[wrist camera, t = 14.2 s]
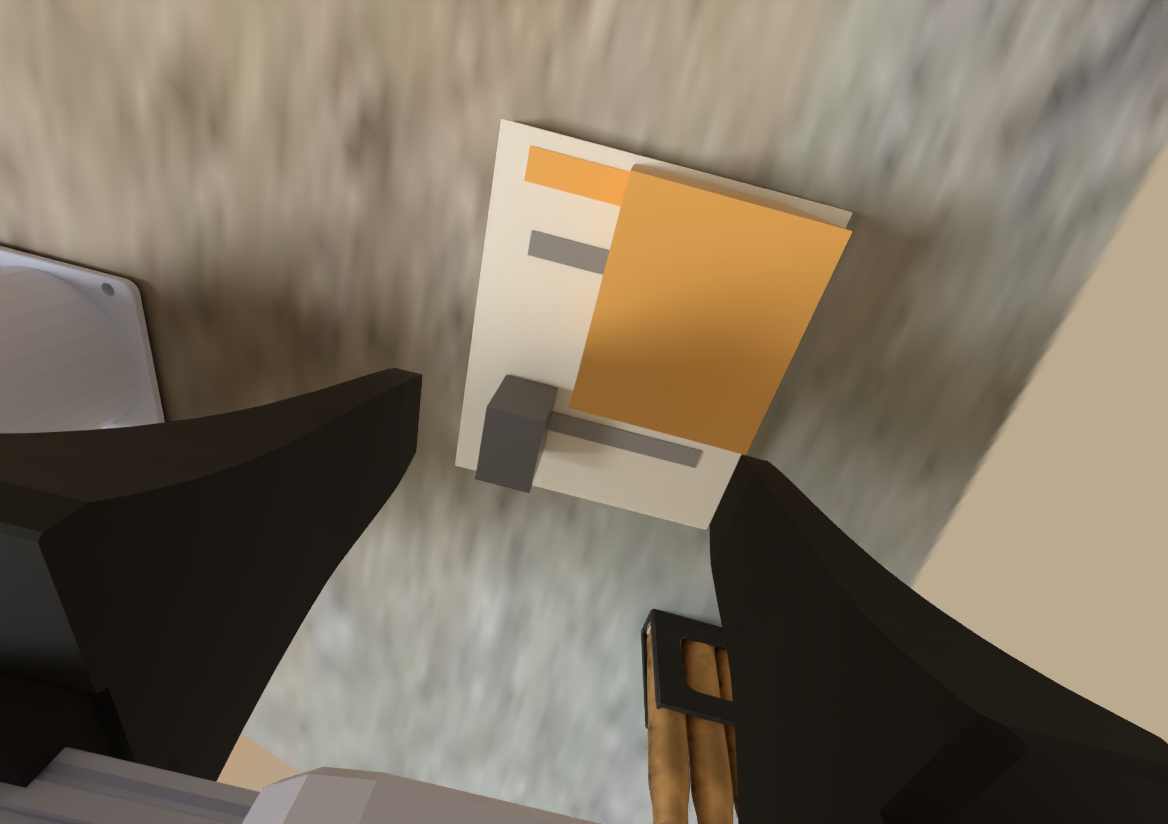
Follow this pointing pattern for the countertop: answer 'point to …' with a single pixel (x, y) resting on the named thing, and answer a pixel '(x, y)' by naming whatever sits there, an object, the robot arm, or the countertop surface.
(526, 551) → the countertop surface
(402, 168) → the countertop surface
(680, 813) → the ammunition clip
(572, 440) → the panel
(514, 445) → the block
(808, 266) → the cap
